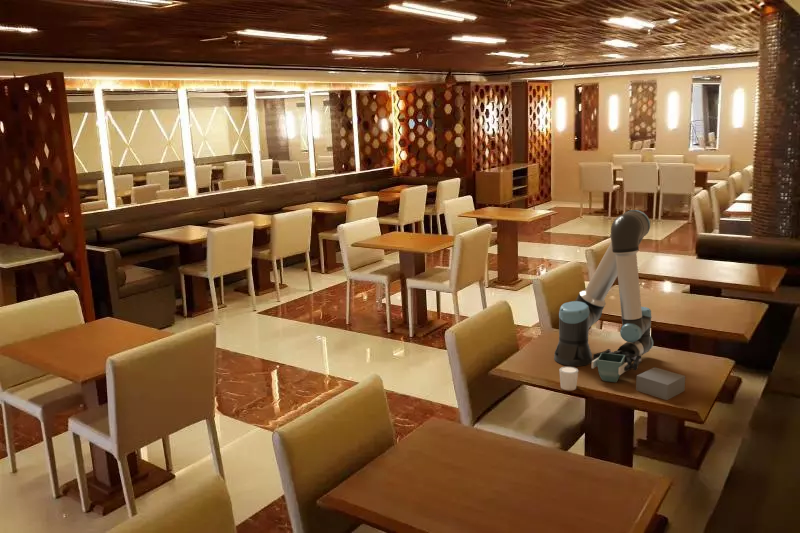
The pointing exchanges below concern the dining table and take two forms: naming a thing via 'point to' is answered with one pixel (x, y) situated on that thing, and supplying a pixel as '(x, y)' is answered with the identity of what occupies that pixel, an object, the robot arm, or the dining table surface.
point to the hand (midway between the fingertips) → (605, 368)
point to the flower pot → (610, 366)
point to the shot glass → (568, 378)
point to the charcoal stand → (660, 383)
